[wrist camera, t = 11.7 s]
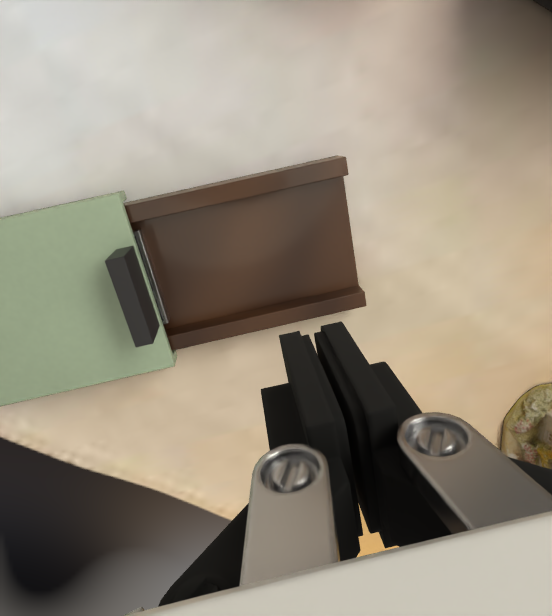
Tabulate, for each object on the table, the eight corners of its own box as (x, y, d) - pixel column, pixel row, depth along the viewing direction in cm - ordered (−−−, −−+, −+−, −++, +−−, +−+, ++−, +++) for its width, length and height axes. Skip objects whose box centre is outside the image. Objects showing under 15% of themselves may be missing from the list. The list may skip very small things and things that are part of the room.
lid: (-13, 399, 34) (-49, 438, 30) (-97, 239, 30) (-154, 257, 25) (177, 355, 35) (170, 387, 30) (124, 190, 30) (106, 199, 26)
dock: (-8, 379, 36) (-24, 395, 33) (-76, 247, 31) (-99, 255, 29) (357, 295, 36) (366, 306, 34) (337, 155, 32) (346, 156, 30)
